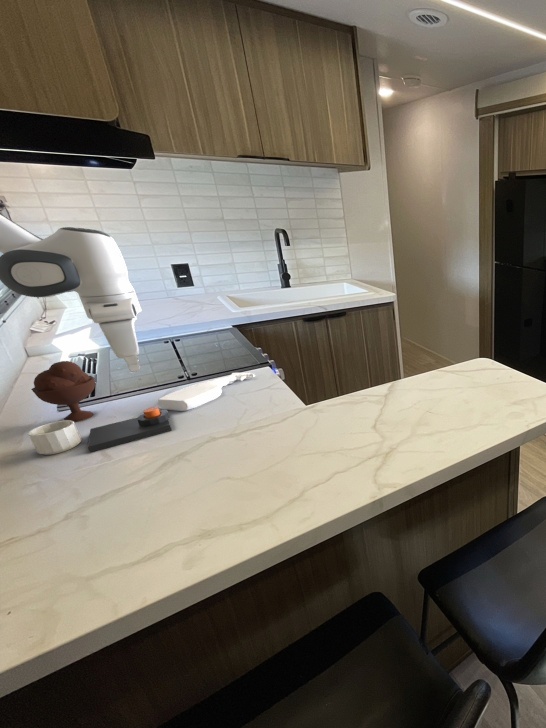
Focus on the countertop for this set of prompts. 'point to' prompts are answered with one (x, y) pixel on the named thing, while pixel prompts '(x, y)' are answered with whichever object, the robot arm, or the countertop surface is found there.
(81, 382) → the ice cream bowl
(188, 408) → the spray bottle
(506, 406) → the countertop surface
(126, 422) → the scale
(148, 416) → the button
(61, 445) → the small bowl
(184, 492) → the countertop surface
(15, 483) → the countertop surface
